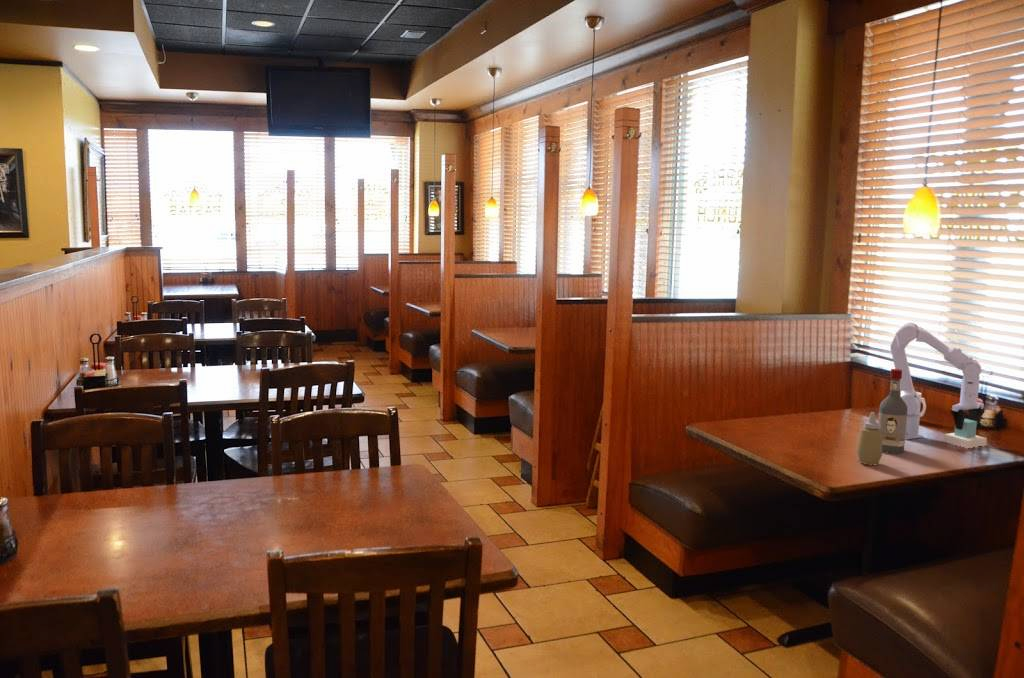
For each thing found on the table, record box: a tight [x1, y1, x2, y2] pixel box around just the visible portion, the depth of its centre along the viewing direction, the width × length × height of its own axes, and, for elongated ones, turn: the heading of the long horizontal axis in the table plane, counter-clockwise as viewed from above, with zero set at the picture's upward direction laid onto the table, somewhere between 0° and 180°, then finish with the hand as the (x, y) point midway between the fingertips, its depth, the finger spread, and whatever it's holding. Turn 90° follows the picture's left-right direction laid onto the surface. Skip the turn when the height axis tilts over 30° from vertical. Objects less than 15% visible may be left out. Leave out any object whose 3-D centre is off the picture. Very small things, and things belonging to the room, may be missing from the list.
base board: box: [943, 432, 988, 450], centre depth 303 cm, size 10×10×3 cm
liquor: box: [877, 368, 908, 455], centre depth 291 cm, size 9×9×30 cm
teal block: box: [953, 418, 978, 438], centre depth 302 cm, size 5×5×6 cm
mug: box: [915, 391, 927, 418], centre depth 335 cm, size 10×7×12 cm, turn 25°
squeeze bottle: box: [856, 411, 883, 466], centre depth 276 cm, size 8×8×18 cm
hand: (965, 428), depth 302 cm, fingers open, 7 cm apart
